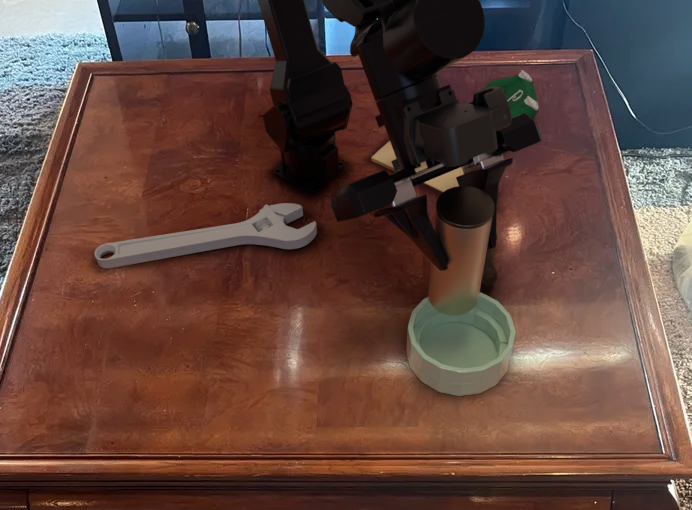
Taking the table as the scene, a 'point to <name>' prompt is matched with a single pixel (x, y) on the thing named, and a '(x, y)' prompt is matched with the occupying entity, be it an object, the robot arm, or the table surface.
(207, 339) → the table surface
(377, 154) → the plate
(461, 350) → the bowl
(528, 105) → the gaming controller
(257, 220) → the adjustable wrench
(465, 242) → the tin
